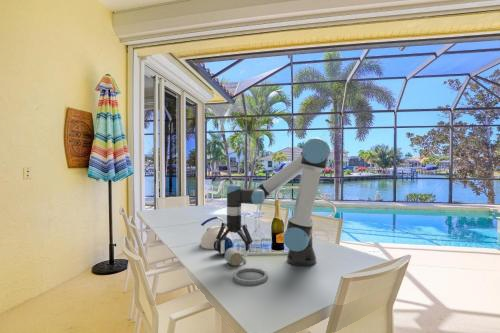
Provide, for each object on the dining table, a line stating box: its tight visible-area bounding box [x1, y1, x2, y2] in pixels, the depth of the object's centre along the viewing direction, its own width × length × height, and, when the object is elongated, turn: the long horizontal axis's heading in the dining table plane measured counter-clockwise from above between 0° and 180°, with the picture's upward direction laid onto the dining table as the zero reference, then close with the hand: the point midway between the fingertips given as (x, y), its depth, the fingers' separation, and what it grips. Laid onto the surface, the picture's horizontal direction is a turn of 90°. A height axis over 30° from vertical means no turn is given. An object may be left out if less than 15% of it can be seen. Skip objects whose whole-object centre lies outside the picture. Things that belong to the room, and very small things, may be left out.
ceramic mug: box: [224, 247, 247, 267], centre depth 145 cm, size 11×8×8 cm
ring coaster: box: [232, 267, 269, 286], centre depth 127 cm, size 16×16×2 cm
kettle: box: [200, 216, 233, 250], centre depth 180 cm, size 20×21×18 cm
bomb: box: [213, 231, 234, 255], centre depth 160 cm, size 10×11×15 cm
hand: (233, 254), depth 145 cm, fingers open, 13 cm apart
